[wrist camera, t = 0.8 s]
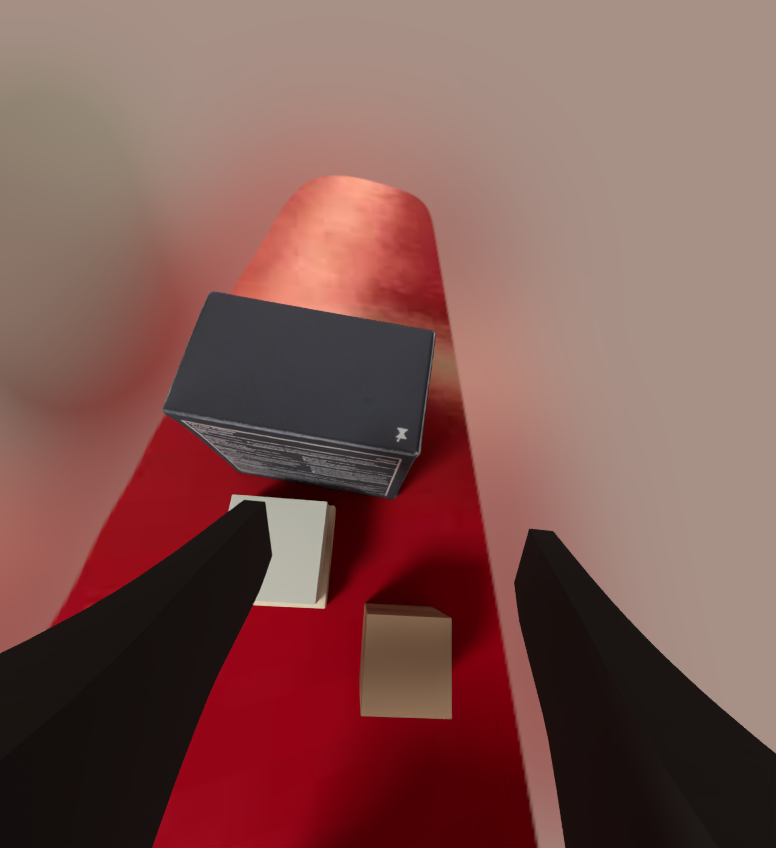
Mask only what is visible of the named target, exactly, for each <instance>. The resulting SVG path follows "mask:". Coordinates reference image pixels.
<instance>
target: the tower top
mask: <svg viewBox="0 0 776 848" xmlns="http://www.w3.org/2000/svg"><path fill="white" fill-rule="evenodd" d="M243 500H253V501H263V502H265V503H266V510H267V518H268V526H269V533H270V541H271V548H272V558H271V561H270V564H269V567H268V570H267V573H266V576H265V578H264V581H263V584H262V586H261V589H260V591H259V594H258V596H257V598H256V600H255V601H268V602H284V603H300V604H316V603H317V602H318V601H319V597H320V588H321V580H322V571H323V562H324V554H325V545H326V536H327V527H328V519H329V510H330V507H329V505H328V502H324V501H311V500H298V499H285V498H272V497H259V496H246V495H232V498H231V502H230V507H229V511H230V510H231V509H232V508H234V507H235V506H236V505H238V504H239V503H240V502H242V501H243Z"/></svg>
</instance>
